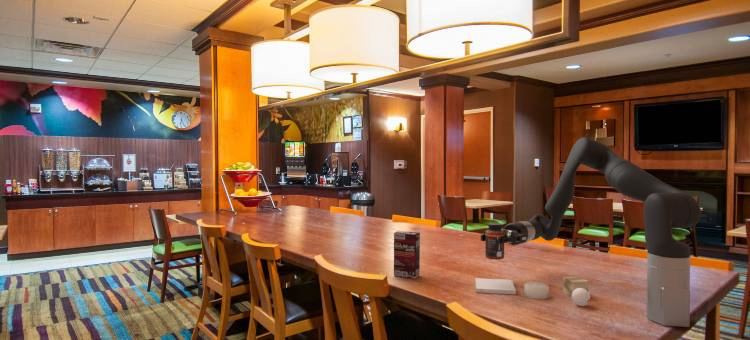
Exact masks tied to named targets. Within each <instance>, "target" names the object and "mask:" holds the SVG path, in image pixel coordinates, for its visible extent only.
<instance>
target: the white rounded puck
mask: <svg viewBox="0 0 750 340" xmlns="http://www.w3.org/2000/svg"><path fill="white" fill-rule="evenodd" d="M523 284H524V289H523V291H524V293H523V295H524V297H526V298H529V299H532V300H547V299H549V297H550V296H549V291H550V290H549V285H548V284H547V283H544V282H540V281H526V282H524V283H523Z"/></svg>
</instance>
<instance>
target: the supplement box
mask: <svg viewBox="0 0 750 340" xmlns="http://www.w3.org/2000/svg"><path fill="white" fill-rule="evenodd" d="M420 233H421V232H419V231H418V232H417V231H405V230H404V231H403V230H397V231H395V232H393V276H394V277H400V276H402V278H407V277H411V278H410V279H414V278H415V279H417V278H418V277H419V276H420V268H421V267H420V262H421V261H420V257H421V255H420V253H421V252H420V251H421V249H420V248H421V241H420V240H421V234H420ZM416 277H417V278H416Z"/></svg>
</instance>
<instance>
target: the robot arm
mask: <svg viewBox="0 0 750 340" xmlns="http://www.w3.org/2000/svg"><path fill="white" fill-rule="evenodd" d="M580 165H582V166H585V167H587V168H590V169H593V170H596V171H597V172H600V173H601V174H603V175H604V177H605V180H606V181H607V184H608V185H610V186H611V188H613V189H615V190H616V191H617V192H619V193H620V194H622V195H624V196H625V197H627V198H631V199H633V200H637V201H640V202H644V205H643V221H644V222H643V225H644V226H643V227H644V239H645V240H644V241H645V243H646V247H647V249H646V250H647V257H646V260H647V261H646V318H648V320H650V321H652V322H654V323H657V324H659V325H661V326H664V327H665V326H669V327H670V326H671V327H683V328H690V327H691V326H690V322H691V319H690V318H691V317H690V315H691V313H690V312H691V280H690V279H691V246H690V245H689V244H687V243H685V242H682V241H679V240H677V239H676V238H675V237H674V236H673V232H672V230H673V229H686V228H687V229H688V228H690V227H693V226H695V225H697V224H698V223H699V222H700V220H701V218H702V210H701V207H700V205H699V202H697V200H696V199H695V197H693V196H692V195H690V194H689V193H687V192H685V191H683V190H681V189H678V188H676V187H674V186H672V185H669V184H668V183H666V182H663V180H661V179H659V178H657V177H656V176H654V175H652V174H651V173H649V172H647V171H646V170H644V169H643V168H641V167H640V166H639V165H636V164H635V163H633V162H632V161H630V160H628V159H625V158H622V157H620V156H619V155H617V154H616V153H615V152H614V151H613V150H612V149H611V148H610V147H609V146H607V145H606V144H604V143H602V142H599V141H598V140H595V139H592V138H590V137H587V136H584V137H580V138H579V139H578V140H576V142H575V143H574V144H573V146H572V148H571V150H570V152H569V154H568V157H567V159H566V162H565V164H564V167H563V169H562V173H561V174H560V178H559V179H558V182H557V184H556V187H555V189H554V190H553V192H552V193H551V195H550V197H549V198H548V200H547V202H546V203H545V206H544V209H545V211H546V212H547V213H548V215H549V216H550V219H549V218H548V217H547V216H545V215H543V214H540V213H537V214H535V215H533V216H532V218H530V219H528V220H525V221H523V220H522V221H515V222H512V223H507V224H506V225H505V226H504V227H503V228H501V229H502V231H504V236H501V237H498V244H503V243H504V244H509V245H510V246H518V245H522V244H526V243H528V242H531V241H534V240H537V239H539V238H542V239H543V240H545V241H549V242H550V241H554V240H555V239H557V237H558V235H559V232H560V230H561V225H562V222H563V221H562V220H563V218H564V216H565V213H566V212H567V211H568V208H569V207H570V206H571V204H572V202H573V199H574V197H575V178H576V174H577V171H578V169H579V168H580ZM485 233H486V230H483V233H482V234H480V241H481V242H485Z"/></svg>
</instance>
